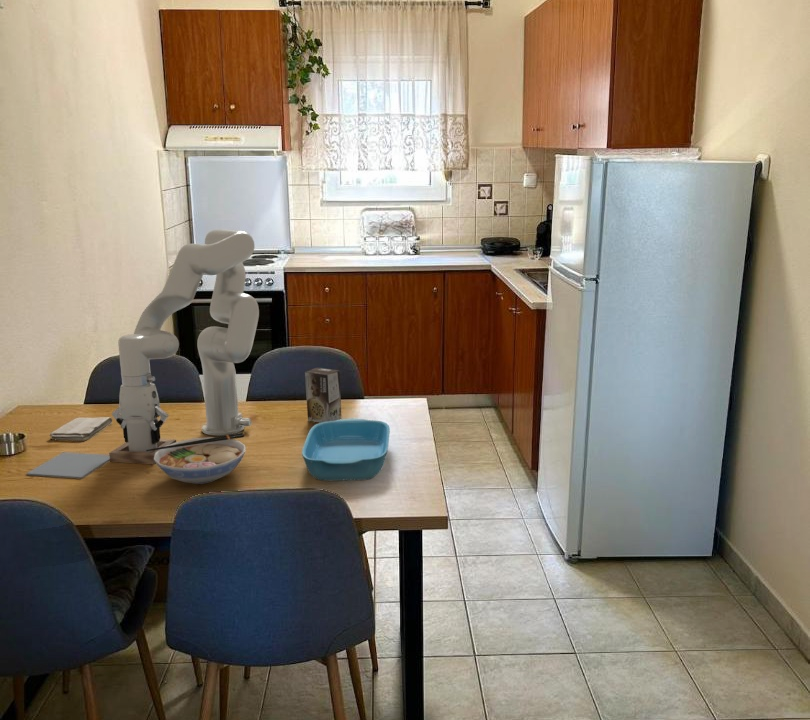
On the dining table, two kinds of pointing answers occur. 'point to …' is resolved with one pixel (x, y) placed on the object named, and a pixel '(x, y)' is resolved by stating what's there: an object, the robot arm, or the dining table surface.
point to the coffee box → (323, 395)
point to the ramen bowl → (200, 458)
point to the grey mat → (70, 465)
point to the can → (139, 435)
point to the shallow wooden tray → (137, 453)
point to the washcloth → (81, 428)
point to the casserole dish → (346, 449)
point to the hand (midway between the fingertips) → (142, 441)
